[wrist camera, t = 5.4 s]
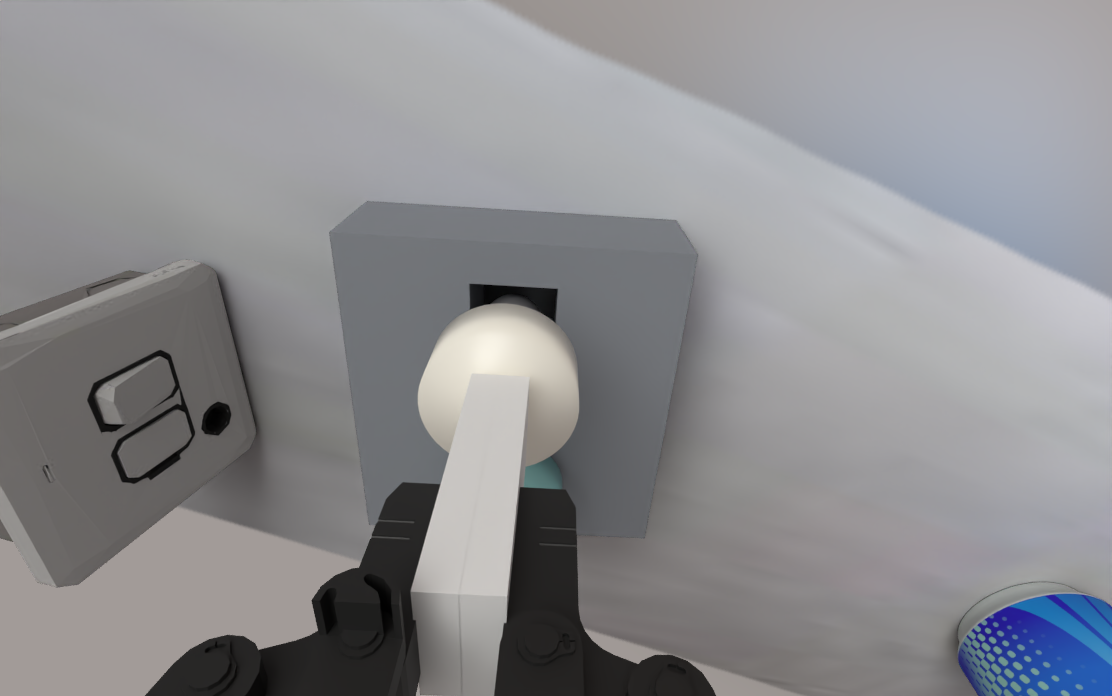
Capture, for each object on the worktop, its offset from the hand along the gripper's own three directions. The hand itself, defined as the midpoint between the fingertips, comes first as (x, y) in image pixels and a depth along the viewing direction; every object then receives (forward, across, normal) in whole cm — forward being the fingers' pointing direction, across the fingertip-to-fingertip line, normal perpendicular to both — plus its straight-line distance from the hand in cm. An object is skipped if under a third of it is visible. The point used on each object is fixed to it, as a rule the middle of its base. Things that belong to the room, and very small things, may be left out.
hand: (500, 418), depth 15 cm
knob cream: (+6, 0, 0) cm, 6 cm away
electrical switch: (+10, -15, -4) cm, 18 cm away
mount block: (+10, 0, -3) cm, 10 cm away
